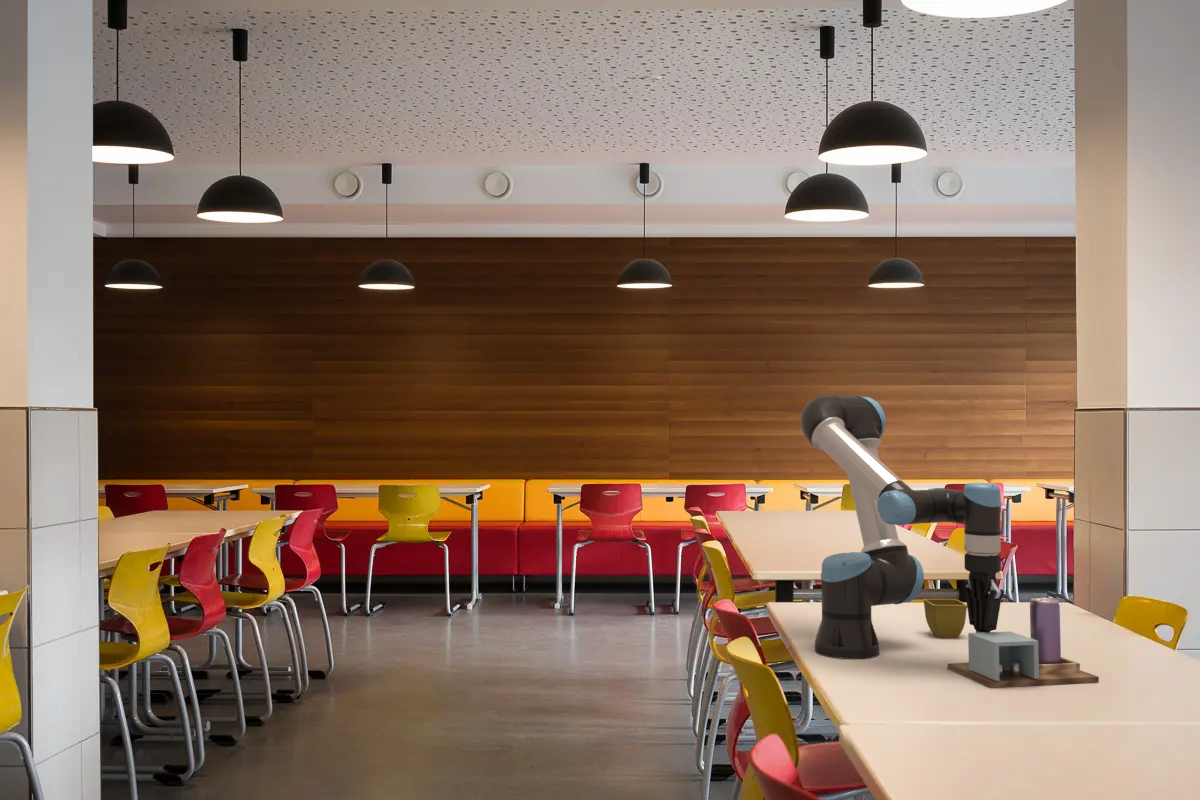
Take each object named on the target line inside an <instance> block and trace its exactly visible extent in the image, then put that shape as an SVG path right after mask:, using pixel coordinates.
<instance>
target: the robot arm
mask: <svg viewBox="0 0 1200 800" xmlns="http://www.w3.org/2000/svg"><path fill="white" fill-rule="evenodd" d="M799 421H800V429H801V431H802V434H803V436H804V437H805V439H806V440H807V441H808V442H809V443H810V444H811V445H812V446H813V447H814V448H815V449H816V450H818V451H824V452H825V453H826V454H827V455H828V456H829V457H830V458H831V459H832V460H833V461H834V462H836V463H837V465H838V466H839V467H840V468H842V469H843V471H845V473H846V474H847V478H848V482H849V486H850V491H851V494H852V500H853V504H854V507H855V511H856V518H857V521H858V525H859V526H858V527H859V529H860V534H861V539H862V543H863V548H862V549H861V550H860V552H859V551H858V552H857V551H852V552H841V553H840V552H839V553H835V554H831V555H828V556H827V557H825V558H823V561H822V562H821V573H820V580H821V581H820V582H821V621H820V623H819V628H818V630H817V633H816V636H815V640H814V651H815V652H816V653H817V654H819V653H820V654H819V655H822V654H823V656H826V655H827V657H830V656H832V657H831V658H837V657H842V658H841V659H867V657H870V658H874V656H875V657H877V656H879V655H880V643H879V640H878V636H877V633H876V631H875V627H874V624H873V621H872V607H874V606H875V607H876V606H884V605H899V604H903V603H908V602H912V601H914V600H915V599H916V598H917V597H918V596H919V595H920V593H921V590H922V589H923V586H924V579H925V577H924V576H925V574H924V569H923V566H922V564H921V562H920V560H917V558H916V557H915V556H914V555H911V554H909V551H908V546H907V544H905V543H904V542H902V541H901V540H900V539H899V537H898V532H897V528H896V525H897V526H906V525H916V524H934V523H936V524H937V523H938V524H939V523H953V524H961V525H964V532H963V533H964V535H963V538H964V540H963V541H964V545H963V546H964V551H965V552H966V553H965V554H964V569H965V570H966V571H967V572H969V574H968V579H967V580H962V587H963V590H964V594H965V600H966V605H967V614H968V623H969V624H970V625H971V626H973V628H974V630H975V633H984V632H993V631H996V630H997V626H998V620H999V614H1000V609H1001V602H1002V599H1003V598H1004V594H1005V591H1004V590H1003V589H1002V588H1001V589H999V587H998V585H997V584H998V581H997V573H1000V572H1001V570H1002V558H1001V557H1002V556H1001V555H1000V553H1001V550H1002V549H1001V542H1002V539H1001V533H1002V532H1001V520H1002V519H1001V517H1002V516H1001V515H1002V501H1001V499H1002V498H1001V497H1002V496H1001V488H1000V487H999V485H998V484H995V483H991V482H986V483H984V482H968V483H966V484H964V488H963V490H959V489H950V488H945V487H940V488H939V487H932V488H931V487H930V488H928V489H918V490H917V489H916V490H915V489H912V488H911V487H910V486H909V485H908V484H906V483H905V482H904V481H903V480H902V479H901V478H900V477H899V476H898V475H896V473H894V472H893V471H892V470H891V469H890V468H889V467H888V466H886V464H884V463H883V461H881V460H880V457H879V453H878V448H879V446H880V445H881V443H882V440H881V437H882V436H883V435H884V433H885V430H886V429H885V427H886V424H887V422H886V415H885V412H884V410H883V407H882V406H881V404H879V402H878V401H876V400H875V399H874V398H871V397H869V396H862V395H830V394H828V395H826V394H825V395H820V396H817V397H814V398H812V399H811V400H809V401H808V402H807V403H806V404H805V406H804V408H803V409H802V411H801V414H800V420H799Z"/></svg>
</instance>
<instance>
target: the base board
mask: <svg viewBox="0 0 1200 800" xmlns="http://www.w3.org/2000/svg"><path fill="white" fill-rule="evenodd" d="M946 665H947V670H949V671H951V672H954V673H956V674H959V675H960V676H963V677H964V678H967V679H969V680H972V681H974V682H976V683H978V684H981V685H983V686H985V687H987V688H990V689H999V688H1016V687H1019V688H1020V687H1039V686H1055V685H1056V686H1058V685H1075V684H1079V685H1080V684H1096V683H1097V682H1099V683H1100V677H1099V676H1097V675H1094V674H1092V673H1089V672H1087V671H1084V670H1081V663H1079V662H1077V661H1074V660H1070V659H1068V658H1065V657H1061V664H1041V665H1040V664H1039V679H1034V678H1031V677H1029V676H1026V675H1024V674H1021V677H1019V678H1016V677H1011V676H1010V669H1003V678H999V681H995V680H992V679H990V678H988V677H985V676H983V675H981V674H978V673H976V672H974V671H971V670H969V662H954V663H953V662H949V663H947V664H946ZM1097 684H1098V683H1097Z"/></svg>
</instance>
